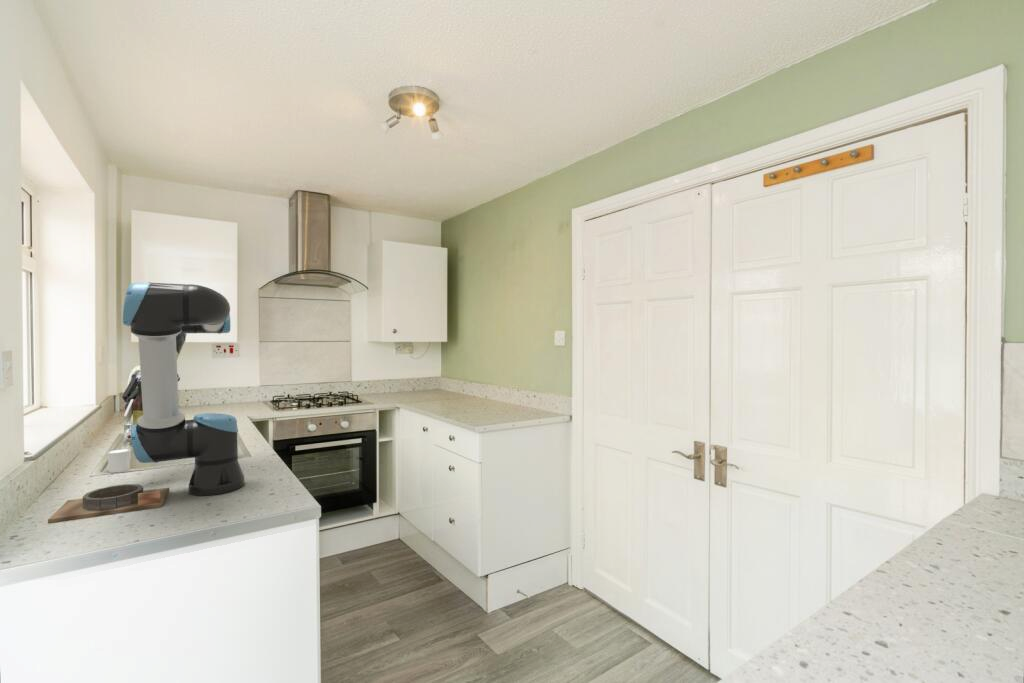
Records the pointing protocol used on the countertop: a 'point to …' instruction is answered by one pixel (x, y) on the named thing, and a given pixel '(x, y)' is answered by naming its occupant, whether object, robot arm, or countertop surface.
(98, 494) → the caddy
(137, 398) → the sauce bottle
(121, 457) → the white cube
